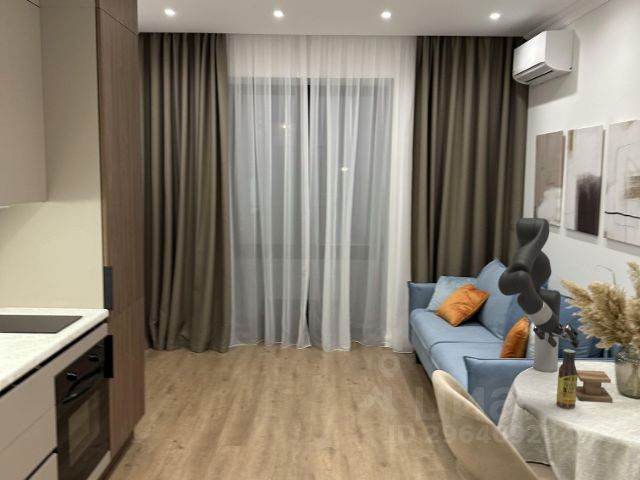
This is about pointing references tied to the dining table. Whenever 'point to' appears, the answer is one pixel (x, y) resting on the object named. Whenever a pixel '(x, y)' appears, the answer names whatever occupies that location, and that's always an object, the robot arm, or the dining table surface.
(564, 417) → the dining table surface
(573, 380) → the sauce bottle
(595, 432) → the dining table surface
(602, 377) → the walnut pedestal
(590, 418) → the dining table surface
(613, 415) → the dining table surface
